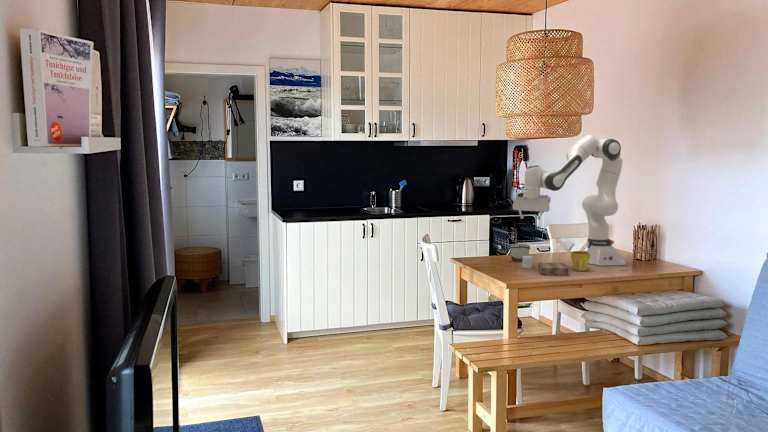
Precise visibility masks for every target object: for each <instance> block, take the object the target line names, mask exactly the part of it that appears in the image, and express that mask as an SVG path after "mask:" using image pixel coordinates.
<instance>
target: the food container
mask: <svg viewBox="0 0 768 432" xmlns="http://www.w3.org/2000/svg"><path fill="white" fill-rule="evenodd" d="M508 249H510V250H509V251H510V260H511V261H510V262H511V263H522V262H523V256H530V254H529V253H530V250H531V246H530V244H525V243H514V244H510V245H509V247H508Z"/></svg>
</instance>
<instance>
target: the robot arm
mask: <svg viewBox="0 0 768 432" xmlns="http://www.w3.org/2000/svg"><path fill="white" fill-rule="evenodd" d="M621 147H622V146H621V143H620V141H618V140H616V139H614V138H601V139H597V138H596V137H595V136H593V135H591V134H588V135H584V136H583V137H581V138H580V139H578V140H577V141H575V142H574V143H573V144H571V146H570V147H569V148H568V149H567V150H566V154H565V156H566V160H567V161H566V163H565V164H564V165H563V166H561V168H560V169H559V170H557V171H554V172H553V171H552V172H551V171H548V170H545V169H544V168H542V166H540V165H536V164H535V165H530V166H528V167H526V169H525V173H524V188H523V191H519V192H516V193H515V198H514V199H513V202H512V203H513V204H512V210H513V211H518V213H519V216H520V219H524V215H523V214H522V212H523V211H525V212H527V211H529V212H539V213H540V214H539V215H538V216H537V220H541V217H542V215H543V214H544V213H548V212H549V211H550V204H551V200H552V199H551V197H550V196H549V195H547V194H545V195H544V194H541V188H542V189H545V190H550V191H552V192H553V191H554V192H557V191H559V190H561V189H562V188H563V186H565V183H566V181H567V179H569V177H570V176H572V174H573V173H574V172H575V171H576V170H578V168H579V167H580V166H581V165H582V164H583V163H584V162H585V161H586V160H588V158H589V157H590V156H592V157H593V158H596V159H601V160H602V164H601V168H600V169H599V170H600V171H599V173H598V177H597V180H596V186H597V190H598V192H597V195H596V194H591V195H587V196H585V197H584V198H583V199H582V201H581V207H582V208H583V210H584V211H585V214H586V219H587V222H588V237H587V243H586V244H587V245H586V246H587V251H586V252H590V259H589V262H588V265H589V264H591V265H596V266H602V267H604V266H626V265H627V261H625V260H623V258H622V253H621V252H620V251H619V250H618V249H617V248H615V247H614V246H613V245H614V244H615V241H614V240H611V239H610V238H609V235H610V233H609V231H610V226H609V224H608V222H607V220H606V218H605V217H610V216H614V215H615V214H616V213H617V212H618V210H619V203H618V201H617V199H616V192H617V191H616V190H617V186H618V182H619V180H620V175H621V172H622V168H623V159H622V157H621V150H622V148H621Z"/></svg>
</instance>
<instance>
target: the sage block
mask: <svg viewBox="0 0 768 432" xmlns="http://www.w3.org/2000/svg"><path fill="white" fill-rule="evenodd" d="M533 260H534V258H533V256H532V255H529V256H523V262H521V263H522V268H523V269H533V264H534V263H533Z"/></svg>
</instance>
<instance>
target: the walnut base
mask: <svg viewBox="0 0 768 432" xmlns="http://www.w3.org/2000/svg"><path fill="white" fill-rule="evenodd" d="M537 271H538V273H539V274H540V276H557V275H562V277H563V276H565V277H567V276H569V267H568V266H567V265H566V263H564V262H538V263H537Z"/></svg>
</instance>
